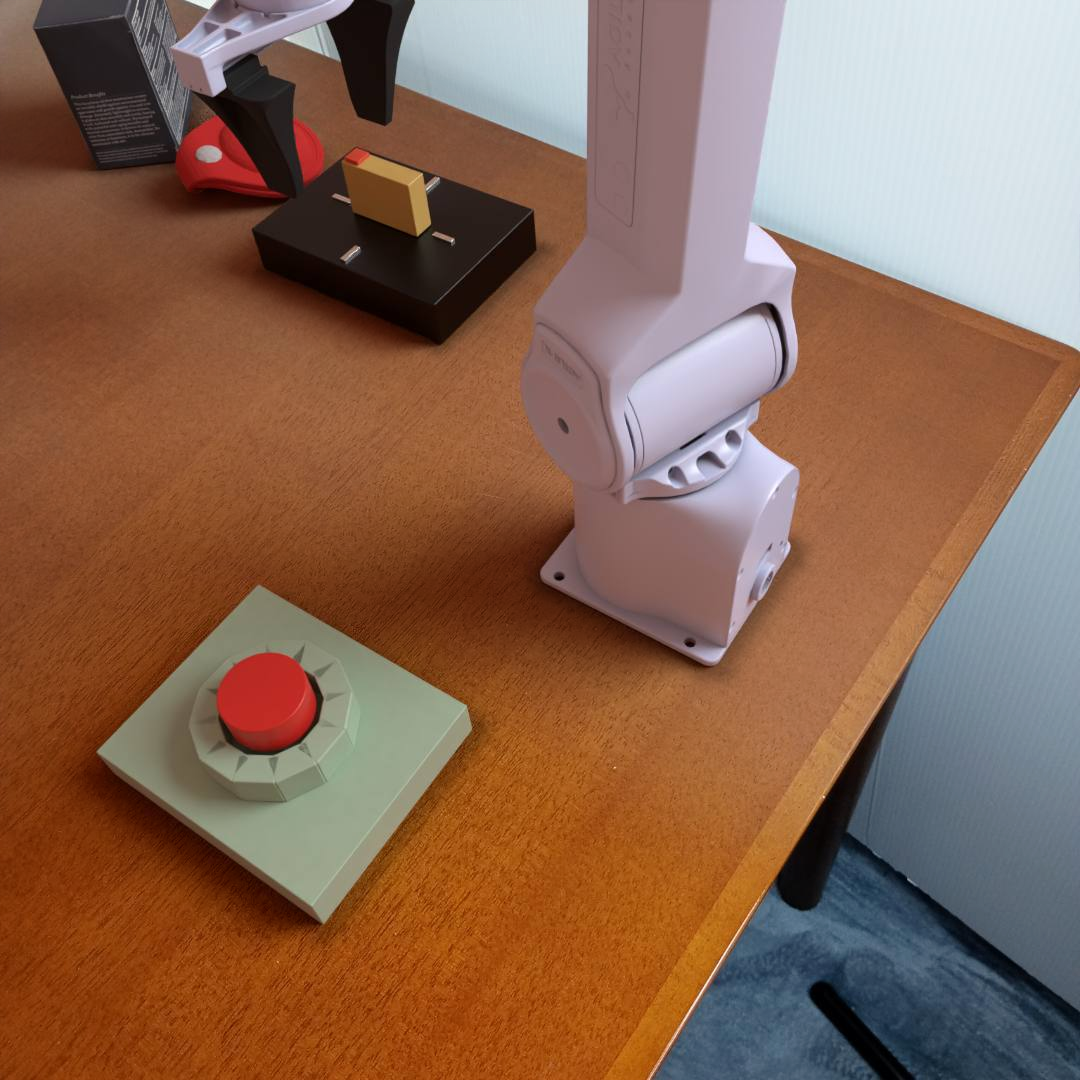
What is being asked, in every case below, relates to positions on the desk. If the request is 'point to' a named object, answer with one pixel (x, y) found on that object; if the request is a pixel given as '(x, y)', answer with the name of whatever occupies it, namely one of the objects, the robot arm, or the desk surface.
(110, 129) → the small box
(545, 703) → the desk surface
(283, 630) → the alarm block
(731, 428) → the robot arm
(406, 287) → the plate
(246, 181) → the tracker holder
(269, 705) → the alarm button
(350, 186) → the thumb turn
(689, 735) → the desk surface
